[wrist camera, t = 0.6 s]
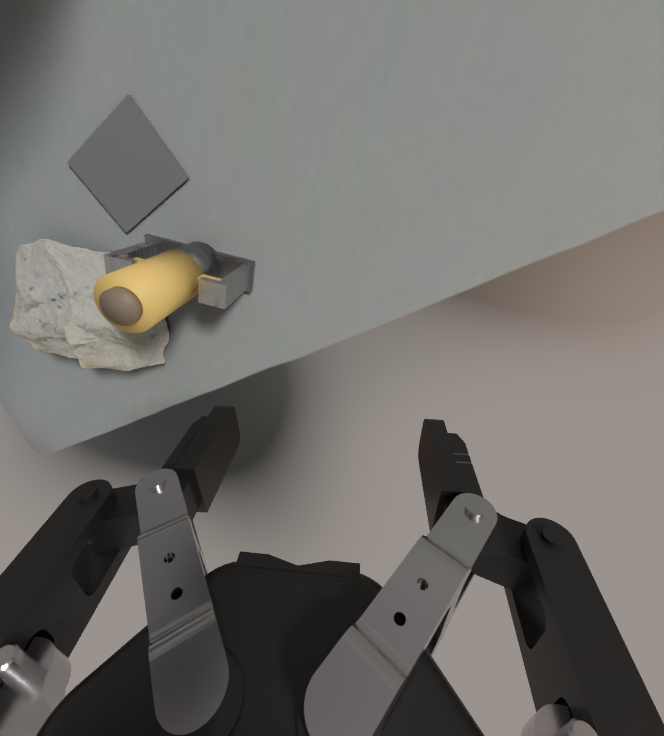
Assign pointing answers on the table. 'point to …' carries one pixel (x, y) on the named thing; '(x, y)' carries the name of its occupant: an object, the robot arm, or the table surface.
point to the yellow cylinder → (148, 290)
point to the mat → (128, 166)
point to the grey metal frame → (212, 263)
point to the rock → (75, 310)
